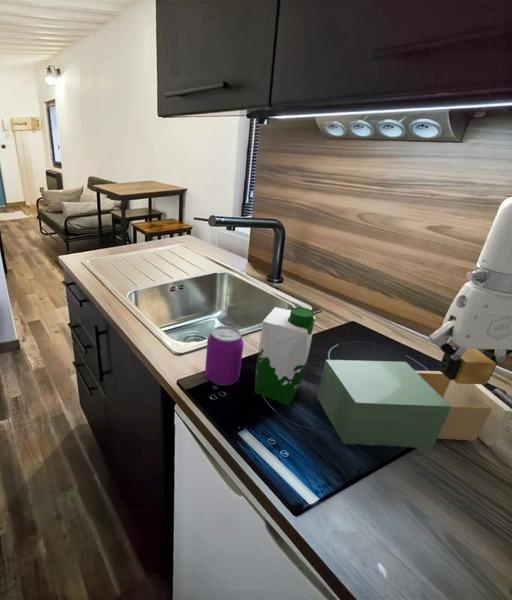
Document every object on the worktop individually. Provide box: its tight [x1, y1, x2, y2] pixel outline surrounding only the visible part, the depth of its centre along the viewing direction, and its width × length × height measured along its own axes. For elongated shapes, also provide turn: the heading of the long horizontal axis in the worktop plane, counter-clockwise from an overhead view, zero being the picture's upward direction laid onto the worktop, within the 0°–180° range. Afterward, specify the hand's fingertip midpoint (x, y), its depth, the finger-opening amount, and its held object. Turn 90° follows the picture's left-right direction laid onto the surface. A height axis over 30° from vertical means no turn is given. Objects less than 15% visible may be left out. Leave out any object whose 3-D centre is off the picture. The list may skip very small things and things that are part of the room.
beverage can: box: [204, 325, 244, 387], centre depth 82 cm, size 8×8×12 cm
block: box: [453, 347, 497, 385], centre depth 63 cm, size 4×4×4 cm
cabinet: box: [316, 359, 451, 450], centre depth 68 cm, size 15×13×10 cm
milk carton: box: [254, 306, 317, 407], centre depth 75 cm, size 9×9×20 cm
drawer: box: [415, 370, 512, 447], centre depth 66 cm, size 19×11×8 cm, turn 83°
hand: (462, 374), depth 64 cm, fingers closed on block, 4 cm apart
